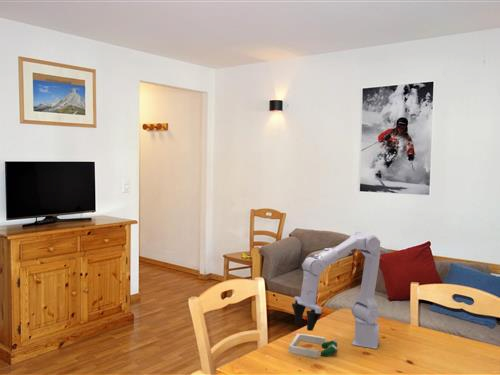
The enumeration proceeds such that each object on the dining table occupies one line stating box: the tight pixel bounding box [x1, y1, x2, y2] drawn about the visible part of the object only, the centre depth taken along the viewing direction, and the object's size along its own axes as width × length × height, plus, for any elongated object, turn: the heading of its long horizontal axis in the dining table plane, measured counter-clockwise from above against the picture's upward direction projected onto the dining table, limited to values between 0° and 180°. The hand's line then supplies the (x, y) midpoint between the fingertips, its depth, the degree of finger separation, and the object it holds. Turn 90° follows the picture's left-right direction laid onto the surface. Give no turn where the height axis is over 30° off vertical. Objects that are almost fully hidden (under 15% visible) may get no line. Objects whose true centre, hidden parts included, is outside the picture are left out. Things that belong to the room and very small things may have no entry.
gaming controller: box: [320, 338, 338, 357], centre depth 170 cm, size 9×4×6 cm
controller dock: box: [288, 333, 326, 359], centre depth 173 cm, size 11×14×2 cm
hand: (303, 326), depth 166 cm, fingers open, 7 cm apart
